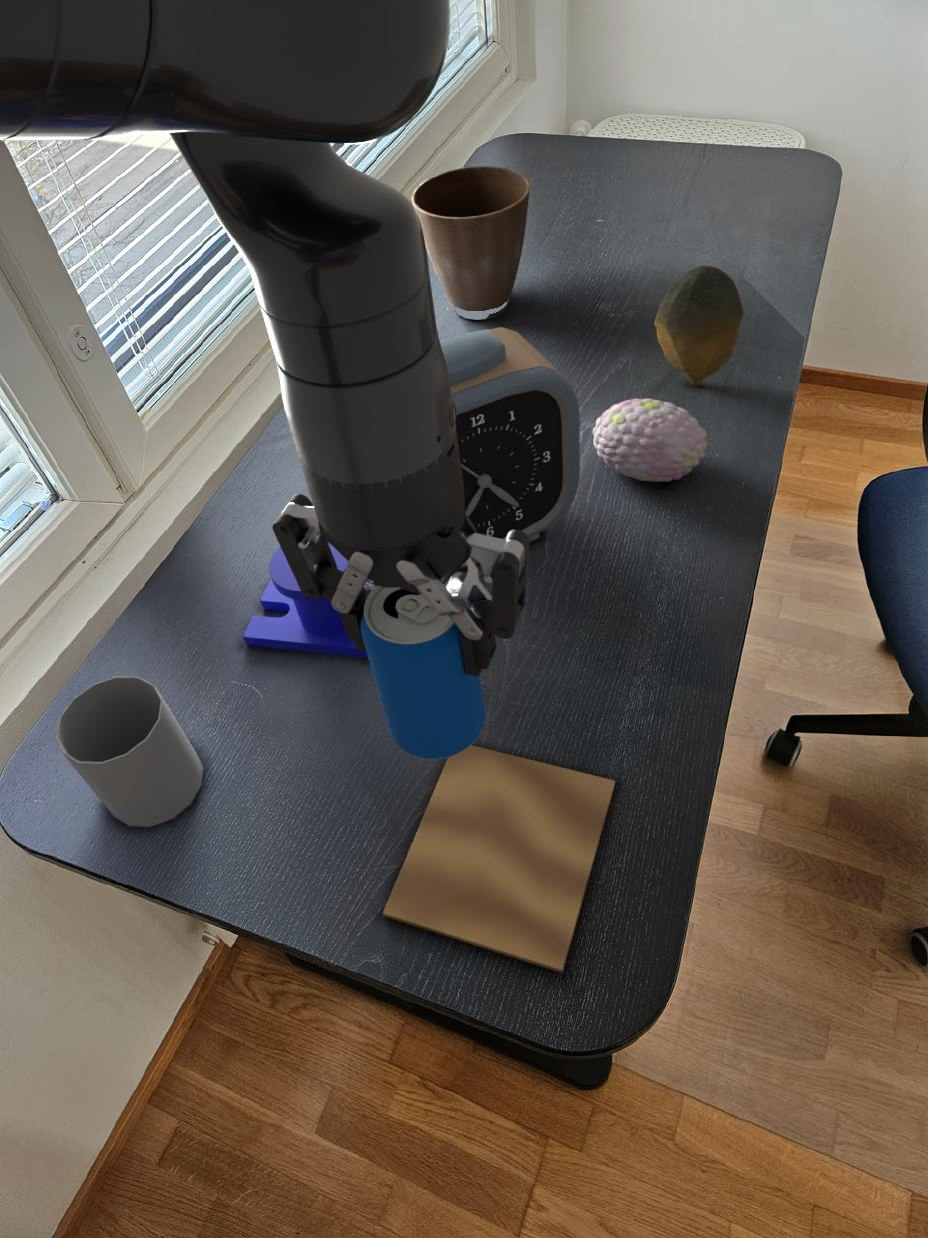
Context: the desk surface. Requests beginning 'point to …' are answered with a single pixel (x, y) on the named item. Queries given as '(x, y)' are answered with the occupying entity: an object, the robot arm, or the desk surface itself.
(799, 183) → the desk surface
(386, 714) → the beverage can
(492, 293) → the flower pot
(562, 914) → the cork mat
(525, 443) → the alarm clock
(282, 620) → the mount
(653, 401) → the decorative item
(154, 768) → the cup
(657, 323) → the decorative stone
